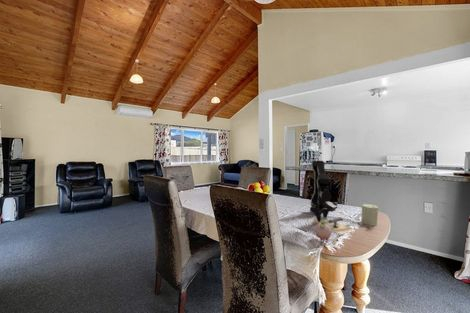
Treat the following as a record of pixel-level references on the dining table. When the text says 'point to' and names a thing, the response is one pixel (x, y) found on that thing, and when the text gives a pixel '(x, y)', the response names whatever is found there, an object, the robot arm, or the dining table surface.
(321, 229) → the decorative fruit
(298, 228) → the mat
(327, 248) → the dining table surface
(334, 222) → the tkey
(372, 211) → the can
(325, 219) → the cover
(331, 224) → the board
